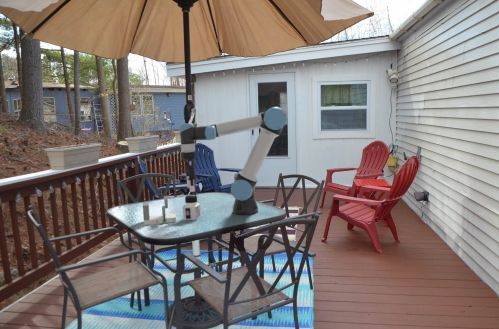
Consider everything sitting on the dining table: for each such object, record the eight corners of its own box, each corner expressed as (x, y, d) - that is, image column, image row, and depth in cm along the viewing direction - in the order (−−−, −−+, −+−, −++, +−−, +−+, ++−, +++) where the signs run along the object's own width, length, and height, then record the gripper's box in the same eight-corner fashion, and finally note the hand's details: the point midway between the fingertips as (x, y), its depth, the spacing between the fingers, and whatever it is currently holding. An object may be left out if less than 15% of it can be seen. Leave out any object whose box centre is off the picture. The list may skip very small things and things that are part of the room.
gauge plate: (167, 216, 214) (166, 196, 212) (168, 221, 204) (167, 199, 203) (162, 217, 213) (161, 196, 212) (163, 221, 203) (161, 200, 202)
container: (196, 220, 208) (195, 197, 207) (183, 219, 210) (181, 197, 208) (200, 216, 216) (199, 194, 214) (187, 216, 217) (186, 194, 216)
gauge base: (175, 217, 215) (174, 199, 214) (176, 221, 206) (175, 203, 205) (144, 220, 211) (142, 202, 209) (144, 225, 202) (142, 205, 201)
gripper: (179, 150, 219) (182, 186, 222) (183, 153, 195) (186, 194, 198) (192, 149, 221) (195, 185, 224) (197, 152, 197) (200, 192, 200)
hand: (190, 189), depth 211 cm, fingers open, 13 cm apart
